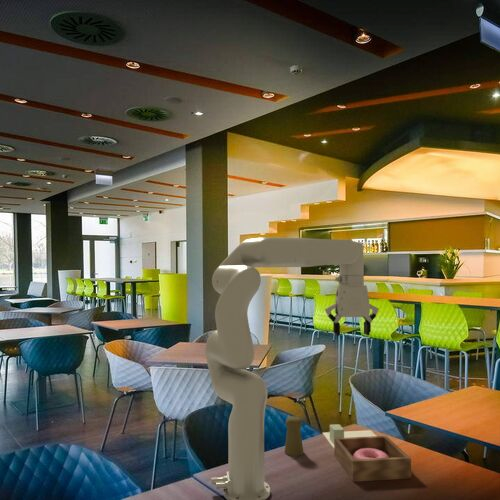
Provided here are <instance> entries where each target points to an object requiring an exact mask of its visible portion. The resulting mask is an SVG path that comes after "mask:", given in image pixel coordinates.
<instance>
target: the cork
mask: <svg viewBox="0 0 500 500" xmlns="http://www.w3.org/2000/svg"><path fill="white" fill-rule="evenodd" d="M285 426H286V428H287V431H286V437H285V438H286V439H285V447H284V453H285V455H287V456H289V457H299V456H302V455H303V454H304V447H303V438H302V432H301V431H302V429H301V428H302V426H303V421H302V418H300V417H299V416H294V415H293V416H288V417H287V418H286V420H285Z"/></svg>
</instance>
